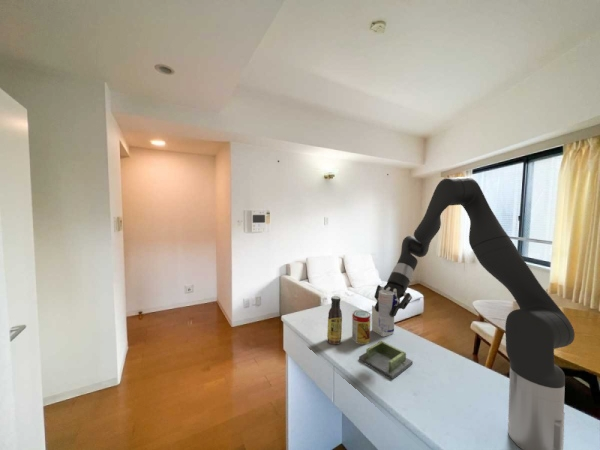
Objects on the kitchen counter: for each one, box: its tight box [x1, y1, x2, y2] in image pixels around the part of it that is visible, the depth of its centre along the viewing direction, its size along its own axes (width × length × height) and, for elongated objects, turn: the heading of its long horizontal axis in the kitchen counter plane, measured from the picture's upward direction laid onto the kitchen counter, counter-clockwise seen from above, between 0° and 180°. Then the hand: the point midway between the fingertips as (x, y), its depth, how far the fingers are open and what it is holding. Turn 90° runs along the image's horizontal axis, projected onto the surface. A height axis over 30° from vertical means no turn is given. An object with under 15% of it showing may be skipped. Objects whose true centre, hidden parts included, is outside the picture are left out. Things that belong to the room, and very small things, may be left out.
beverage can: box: [378, 290, 395, 334], centre depth 87 cm, size 6×6×15 cm
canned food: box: [351, 309, 371, 345], centre depth 104 cm, size 8×8×12 cm
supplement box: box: [371, 304, 395, 338], centre depth 111 cm, size 7×7×13 cm
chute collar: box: [358, 340, 414, 380], centre depth 87 cm, size 14×14×4 cm
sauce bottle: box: [326, 295, 343, 345], centre depth 102 cm, size 7×6×20 cm
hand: (383, 313), depth 86 cm, fingers closed on beverage can, 5 cm apart
